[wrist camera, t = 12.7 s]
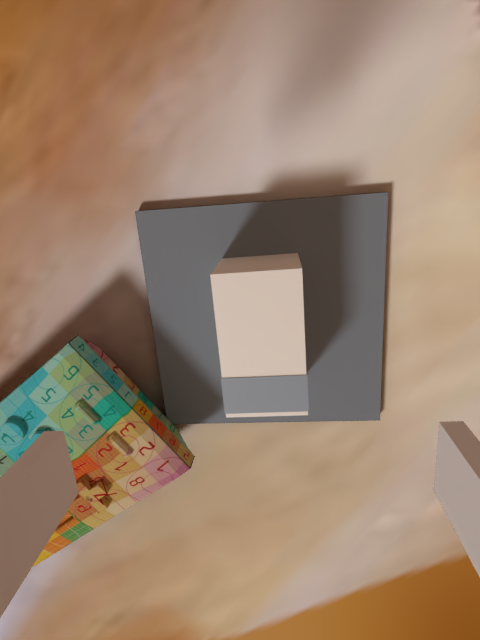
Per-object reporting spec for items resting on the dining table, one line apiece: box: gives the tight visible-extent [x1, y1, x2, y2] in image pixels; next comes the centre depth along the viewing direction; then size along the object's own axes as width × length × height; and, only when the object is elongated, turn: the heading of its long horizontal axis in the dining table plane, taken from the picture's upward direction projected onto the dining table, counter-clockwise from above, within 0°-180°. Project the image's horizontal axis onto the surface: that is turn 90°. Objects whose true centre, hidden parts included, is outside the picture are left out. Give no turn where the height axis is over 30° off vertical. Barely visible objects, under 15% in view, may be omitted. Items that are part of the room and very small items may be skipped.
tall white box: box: [210, 253, 309, 418], centre depth 26 cm, size 9×5×5 cm, turn 5°
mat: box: [135, 192, 388, 424], centre depth 28 cm, size 16×16×1 cm
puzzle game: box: [0, 335, 195, 567], centre depth 31 cm, size 12×5×20 cm
